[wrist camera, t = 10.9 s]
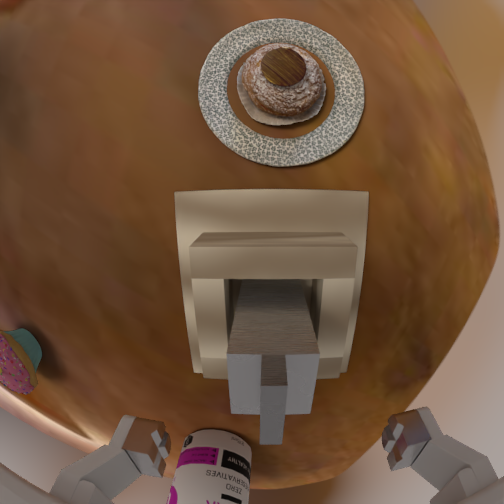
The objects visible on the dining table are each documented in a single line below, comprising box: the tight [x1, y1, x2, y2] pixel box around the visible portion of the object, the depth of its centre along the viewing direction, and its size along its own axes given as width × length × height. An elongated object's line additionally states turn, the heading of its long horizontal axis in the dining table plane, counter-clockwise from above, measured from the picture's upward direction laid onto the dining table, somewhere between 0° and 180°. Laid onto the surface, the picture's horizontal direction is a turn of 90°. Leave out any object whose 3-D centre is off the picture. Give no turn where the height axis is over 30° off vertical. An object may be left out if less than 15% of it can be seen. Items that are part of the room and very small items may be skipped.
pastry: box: [198, 19, 364, 167], centre depth 16 cm, size 12×12×5 cm
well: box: [174, 189, 369, 379], centre depth 20 cm, size 16×14×5 cm
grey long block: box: [226, 279, 320, 444], centre depth 16 cm, size 4×4×12 cm
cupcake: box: [0, 328, 42, 394], centre depth 21 cm, size 9×8×12 cm
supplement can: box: [167, 429, 252, 504], centre depth 21 cm, size 8×8×15 cm
